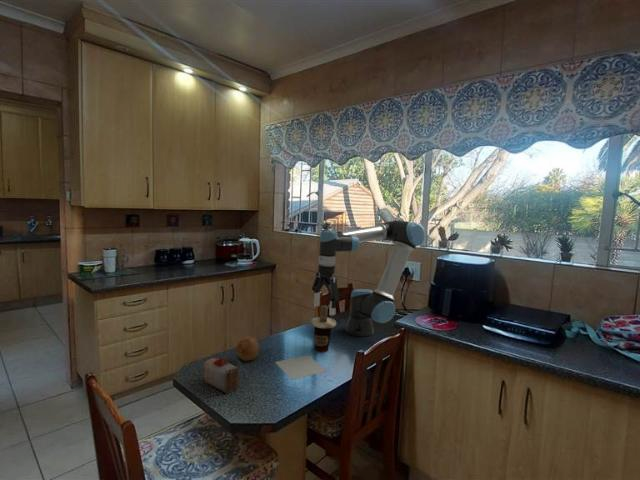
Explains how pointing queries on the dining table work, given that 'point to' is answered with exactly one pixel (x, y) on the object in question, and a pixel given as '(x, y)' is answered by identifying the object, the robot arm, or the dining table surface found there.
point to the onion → (248, 348)
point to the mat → (300, 367)
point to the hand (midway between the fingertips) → (324, 310)
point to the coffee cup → (322, 338)
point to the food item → (221, 374)
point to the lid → (323, 319)
